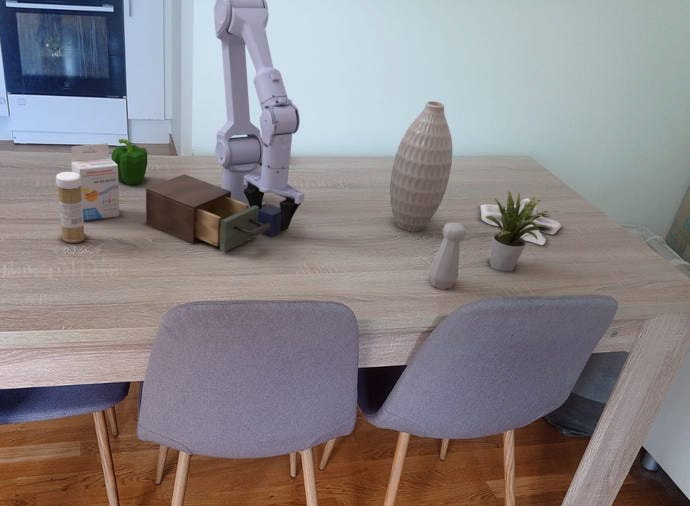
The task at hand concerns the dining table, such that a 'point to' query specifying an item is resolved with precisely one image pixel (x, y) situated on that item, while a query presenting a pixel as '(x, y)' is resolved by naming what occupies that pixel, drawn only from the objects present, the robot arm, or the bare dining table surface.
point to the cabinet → (179, 204)
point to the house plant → (512, 233)
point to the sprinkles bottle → (70, 206)
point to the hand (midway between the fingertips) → (270, 224)
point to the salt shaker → (447, 257)
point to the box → (270, 218)
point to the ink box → (97, 181)
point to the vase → (421, 169)
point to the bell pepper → (130, 162)
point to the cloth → (549, 229)
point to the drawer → (227, 223)
